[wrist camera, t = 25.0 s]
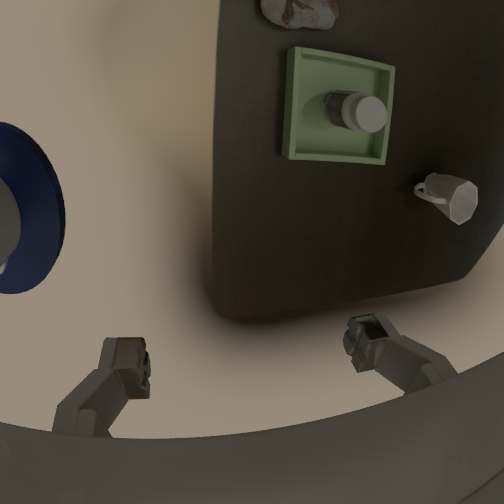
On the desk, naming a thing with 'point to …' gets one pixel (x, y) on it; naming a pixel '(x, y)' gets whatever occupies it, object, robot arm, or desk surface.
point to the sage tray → (310, 100)
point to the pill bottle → (354, 111)
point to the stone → (301, 13)
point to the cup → (450, 195)
